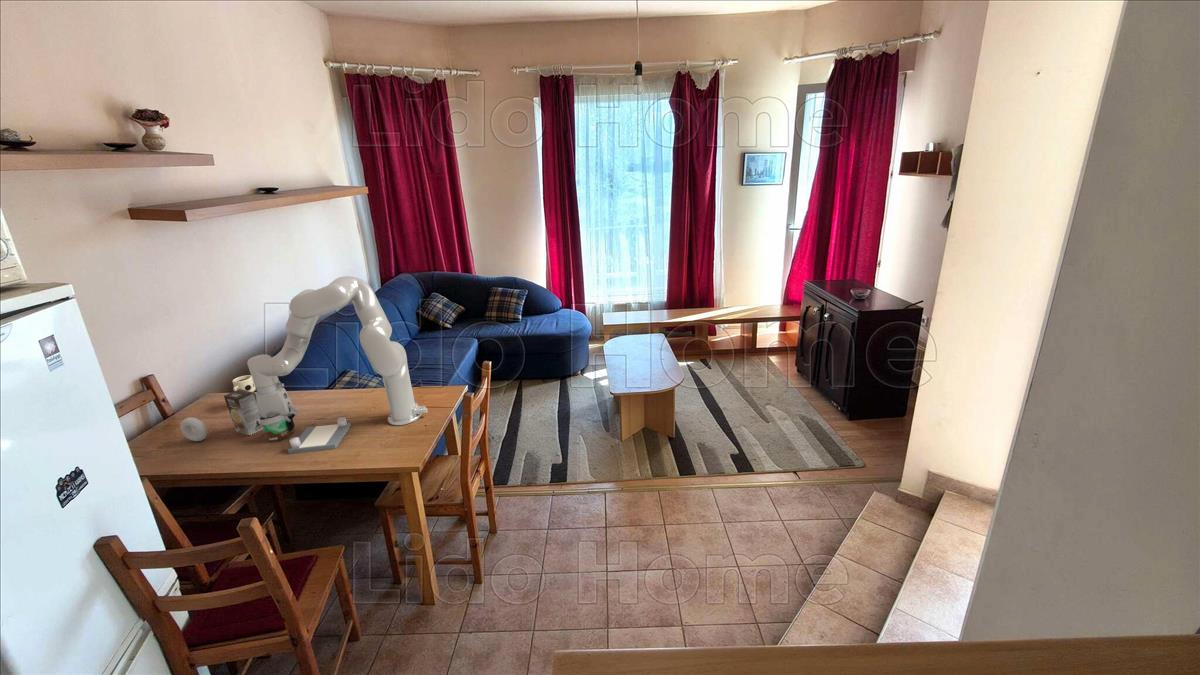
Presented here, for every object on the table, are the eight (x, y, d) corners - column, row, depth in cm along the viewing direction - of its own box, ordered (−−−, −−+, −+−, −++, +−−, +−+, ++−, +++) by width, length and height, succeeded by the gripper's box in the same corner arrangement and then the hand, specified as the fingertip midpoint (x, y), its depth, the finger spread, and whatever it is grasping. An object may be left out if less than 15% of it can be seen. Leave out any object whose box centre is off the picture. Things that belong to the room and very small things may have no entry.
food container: (281, 444, 182) (273, 420, 179) (267, 444, 184) (258, 420, 180) (305, 427, 194) (298, 404, 190) (291, 426, 195) (284, 404, 191)
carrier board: (351, 426, 193) (348, 415, 191) (335, 448, 178) (332, 437, 176) (308, 430, 191) (305, 420, 190) (289, 453, 176) (285, 442, 175)
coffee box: (235, 432, 194) (222, 395, 188) (251, 424, 199) (239, 388, 194) (249, 436, 190) (236, 399, 184) (266, 428, 195) (254, 391, 190)
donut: (183, 442, 188) (173, 419, 185) (191, 437, 192) (182, 415, 188) (205, 443, 187) (196, 420, 183) (213, 439, 190) (204, 416, 186)
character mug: (249, 411, 210) (239, 383, 206) (234, 411, 211) (224, 384, 207) (267, 399, 220) (259, 373, 216) (253, 399, 221) (244, 373, 217)
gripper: (297, 380, 186) (310, 423, 192) (249, 386, 184) (264, 428, 190) (288, 389, 179) (302, 432, 185) (238, 395, 177) (253, 438, 183)
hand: (282, 430), depth 188 cm, fingers closed on food container, 5 cm apart
